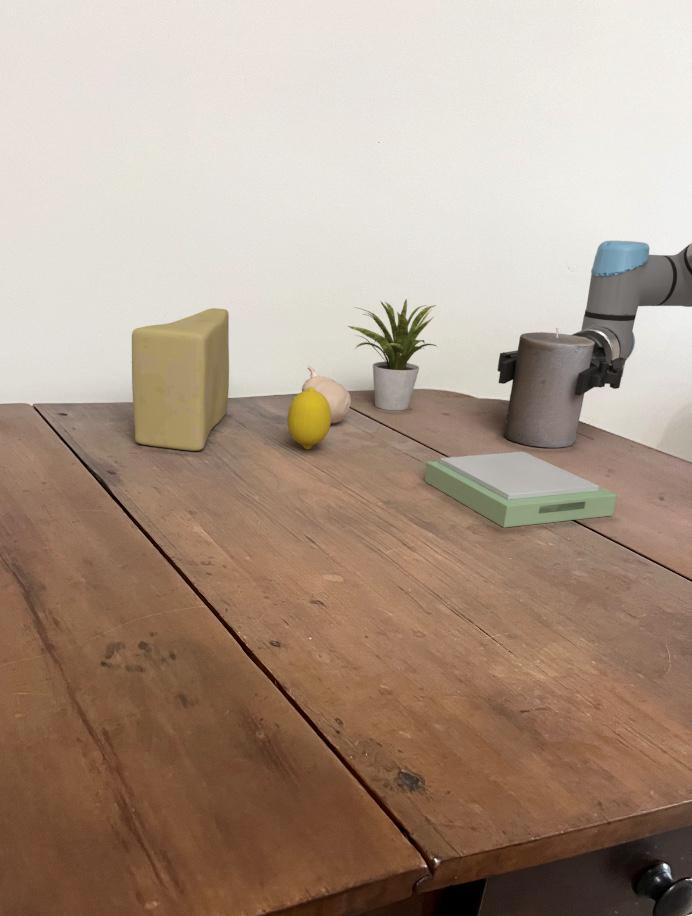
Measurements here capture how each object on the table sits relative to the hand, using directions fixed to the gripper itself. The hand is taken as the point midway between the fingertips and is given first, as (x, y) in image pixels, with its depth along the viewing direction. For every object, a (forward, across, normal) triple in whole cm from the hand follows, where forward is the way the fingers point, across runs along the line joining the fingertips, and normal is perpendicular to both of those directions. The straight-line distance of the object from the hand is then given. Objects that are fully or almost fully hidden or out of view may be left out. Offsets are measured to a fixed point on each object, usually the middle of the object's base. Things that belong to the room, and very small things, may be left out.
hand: (540, 378), depth 121 cm
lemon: (+21, +22, -9) cm, 32 cm away
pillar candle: (-4, 0, -9) cm, 10 cm away
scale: (+23, -6, -9) cm, 26 cm away
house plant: (-10, +25, -9) cm, 28 cm away
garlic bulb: (+8, +27, -9) cm, 30 cm away
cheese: (+23, +39, -9) cm, 46 cm away
